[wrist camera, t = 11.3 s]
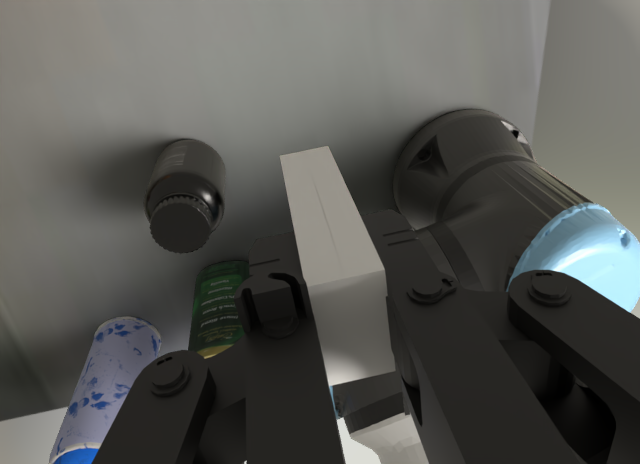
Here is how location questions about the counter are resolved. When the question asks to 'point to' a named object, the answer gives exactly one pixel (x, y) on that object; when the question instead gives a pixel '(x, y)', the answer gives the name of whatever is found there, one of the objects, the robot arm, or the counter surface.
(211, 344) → the coffee jar
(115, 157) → the counter surface
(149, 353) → the aerosol can
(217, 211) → the supplement bottle
